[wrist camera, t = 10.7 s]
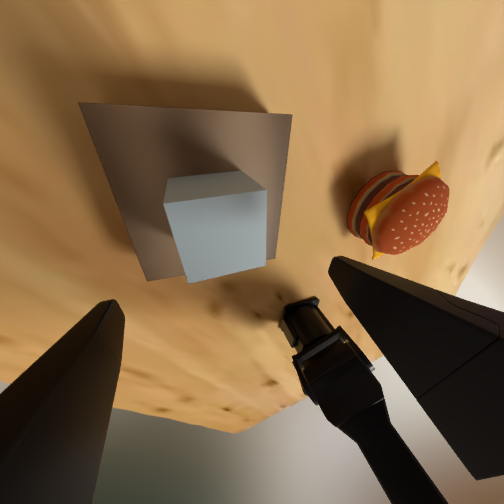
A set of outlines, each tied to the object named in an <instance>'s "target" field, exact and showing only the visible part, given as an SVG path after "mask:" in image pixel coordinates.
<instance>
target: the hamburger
mask: <svg viewBox="0 0 504 504" xmlns="http://www.w3.org/2000/svg"><path fill="white" fill-rule="evenodd" d="M448 199H449V188H448V186H447V185H446V184H445V183H444V182H443V181H442V180H441V179H440V169H439V165H438V162H437V161H436V162H435V163H433V164H432V165H431V166H430V167H429V168H428V169H426V170H425V171H424V172H423V173H422V174H421V175H406V174H404V173H403V172H401V171H390V172H384V173H382V174H380V175H378V176H376V177H374V178H373V179H371V180H370V181H369V182H368V183H367V184H366V185H365V186H364V187H363V188H362V189H361V190H360V191H359V193H358V195H357V196H356V198H355V199H354V201H353V202H352V205H351V208H350V211H349V214H348V228H349V229H350V231H351V232H352V234H353V235H354V236H356V237H358V238H361V239H364V241H365V242H366V243H367V244H368V245H371V246H373V257H372V260H373V259H376V258H377V257H379V256H381V255H383V254H385V253H386V254H392V255H396V254H400V253H403V252H405V251H407V250H409V249H411V248H413V247H415V246H417V245H419V244H421V243H422V242H423V241H424V240H425V239H426V238H427V237H428V236H429V235H430V234H431V233H432V232H434V231H435V229H436V228H437V226H438V225H439V223H440V222H441V220H442V218H443V217H444V215H445V214H446V212H447V206H448Z"/></svg>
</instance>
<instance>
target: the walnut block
mask: <svg viewBox="0 0 504 504" xmlns="http://www.w3.org/2000/svg"><path fill="white" fill-rule="evenodd" d="M78 104H79V106H80V109H81V111H82V114H83V117H84V119H85V122H86V124H87V127H88V130H89V132H90V135H91V137H92V140H93V143H94V145H95V148H96V150H97V153H98V156H99V158H100V161H101V163H102V166H103V169H104V171H105V174H106V176H107V179H108V182H109V184H110V187H111V189H112V192H113V194H114V197H115V200H116V202H117V205H118V207H119V210H120V213H121V215H122V218H123V220H124V223H125V226H126V228H127V231H128V233H129V236H130V239H131V241H132V244H133V246H134V249H135V252H136V254H137V257H138V259H139V262H140V265H141V267H142V270H143V272H144V275H145V278H146V280H147V281H153V280H158V279H164V278H170V277H175V276H181V275H186V274H185V271H184V268H183V265H182V262H181V259H180V255H179V252H178V249H177V246H176V243H175V240H174V237H173V233H172V230H171V227H170V224H169V221H168V218H167V215H166V211H165V208H164V205H163V202H164V196H165V191H166V186H167V181H168V178H174V177H184V176H193V175H203V174H212V173H222V172H232V171H243V172H244V173H245V174H247V175H248V176H249V177H251V178H252V179H253V180H255V181H256V182H257V183H259V184H260V185H261V186H263V187H264V188H265V189H267V223H266V260H270V259H275V256H276V248H277V239H278V231H279V223H280V214H281V206H282V197H283V189H284V181H285V172H286V164H287V156H288V147H289V139H290V131H291V122H292V115H291V114H273V113H256V112H238V111H221V110H203V109H185V108H168V107H150V106H132V105H115V104H97V103H80V102H78Z"/></svg>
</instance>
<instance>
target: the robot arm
mask: <svg viewBox="0 0 504 504" xmlns="http://www.w3.org/2000/svg"><path fill="white" fill-rule="evenodd" d="M328 274H329V276H330V278H331V279H332V281H333V283H334V284H335V286H336V288H337V289H338V291H339V293H340V294H341V296H342V298H343V299H344V301H345V302H346V304H347V305H348V307H349V308H350V309H351V311H352V312H353V313H354V315H355V316H356V318H357V319H358V320H359V322H360V323H361V324H362V326H363V327H364V329H365V330H366V331H367V333H368V334H369V335H370V337H371V338H372V339H373V341H374V342H375V344H376V345H377V346H378V348H379V349H380V350H381V352H382V353H383V355H384V356H385V357H386V359H387V360H388V361H389V363H390V364H391V365H392V367H393V368H394V370H395V371H396V372H397V374H398V375H399V376H400V378H401V379H402V381H403V382H404V383H405V384H406V386H407V387H408V389H409V390H410V391H411V393H412V394H413V396H414V397H415V398H416V399H417V401H418V403H419V404H420V405H421V407H422V408H423V410H424V411H425V412H426V414H427V415H428V416H429V418H430V419H431V420H432V422H433V423H434V425H435V426H436V427H437V429H438V430H439V431H440V433H441V434H442V436H443V437H444V438H445V440H446V441H447V442H448V444H449V445H450V446H451V448H452V449H453V451H454V452H455V453H456V455H457V456H458V457H459V459H460V460H461V461H462V463H463V464H464V466H465V467H466V468H467V470H468V471H469V472H470V473H471V475H472V476H473V477H474V478H475V479H476V480H481V479H486V478H491V477H496V476H501V475H504V312H501V311H498V310H495V309H492V308H489V307H486V306H483V305H479V304H476V303H473V302H470V301H467V300H464V299H461V298H459V297H455V296H453V295H450V294H447V293H444V292H442V291H439V290H434V289H433V288H430V287H428V286H425V285H422V284H419V283H416V282H414V281H411V280H408V279H405V278H402V277H400V276H397V275H394V274H391V273H389V272H386V271H383V270H380V269H377V268H375V267H372V266H369V265H366V264H364V263H361V262H358V261H355V260H352V259H350V258H347V257H344V256H337V257H334V258H333V259H332V261H331V264H330V267H329V270H328ZM319 301H320V300H319V299H318V298H314V299H310V300H306V301H303V302H299V303H295V304H291V305H287V306H286V307H285V308H284V313H283V318H282V322H281V331H283V332H284V334H285V336H286V338H287V340H288V342H289V344H290V346H291V347H292V348H294V347H295V349H296V351H297V353H298V354H296V355H293V356H292V359H293V362H292V363H293V365H294V367H295V369H296V371H297V373H298V376H299V380H300V383H301V387H302V390H303V392H304V394H305V395H307V396H309V397H310V399H311V400H312V401H313V403H314V404H315V405H318V404H319V406H320V408H321V410H322V412H323V413H324V415H325V417H326V418H327V420H328V421H329V422H331V423H332V424H333V425H334V426H335V427H338V428H339V429H340V430H341V431H342V432H344V433H345V434H346V435H348V436H349V437H350V438H351V439H352V440H354V441H355V442H356V443H357V444H358V446H359V448H360V449H361V451H362V453H363V454H364V456H365V458H366V460H367V462H368V463H369V465H370V467H371V469H372V470H373V472H374V474H375V476H376V477H377V479H378V481H379V483H380V484H381V486H382V488H383V490H384V491H385V493H386V495H387V497H388V498H389V500H390V502H391V504H448V502H447V501H446V500H445V498H444V497H443V495H442V494H441V493H440V491H439V490H438V488H437V487H436V486H435V484H434V483H433V481H432V480H431V479H430V477H429V476H428V474H427V473H426V472H425V470H424V469H423V467H422V466H421V465H420V463H419V462H418V460H417V459H416V458H415V456H414V455H413V453H412V452H411V451H410V449H409V448H408V446H407V445H406V444H405V442H404V441H403V439H402V438H401V437H400V435H399V434H398V433H397V431H396V430H395V428H394V427H393V426H392V424H391V422H390V418H389V414H388V411H387V407H386V403H385V399H384V395H383V391H382V387H381V384H380V383H379V382H378V380H377V379H376V378H375V376H374V375H373V374H372V371H373V370H375V369H374V367H373V365H372V364H371V362H370V361H369V360H368V358H367V357H366V356H365V354H364V353H363V352H362V351H361V349H360V348H359V347H358V346H357V345H356V344H355V342H354V341H353V340H352V339H351V338H350V337H349V336H348V334H347V333H346V332H345V331H344V330H343V329H342V327H341V326H338V327H337V328H336V329H334V327H333V326H332V325H331V323H330V322H329V321H328V319H327V318H326V317H325V316H324V314H323V313H322V312H321V310H320V309H319V308H318V304H319ZM124 327H125V316H124V313H123V311H122V309H121V308H120V306H119V304H118V302H117V301H116V300H115V299H111V300H106V301H102V302H100V303H98V304H97V305H96V306H95V307H94V308H93V309H92V310H91V311H90V312H88V313H87V314H86V315H85V316H84V317H83V318H82V319H81V320H80V321H79V322H78V323H77V324H75V325H74V326H73V327H72V328H71V329H70V330H69V331H68V332H67V333H66V334H65V335H64V336H62V337H61V338H60V339H59V340H58V341H57V342H56V343H55V344H54V345H53V346H52V347H51V348H49V349H48V350H47V351H46V352H45V353H44V354H43V355H42V356H41V357H40V358H39V359H37V360H36V361H35V362H34V363H33V364H32V365H31V366H30V367H29V368H28V369H27V370H26V371H24V372H23V373H22V374H21V375H20V376H19V377H18V378H17V379H16V380H15V381H14V382H13V383H11V384H10V385H9V386H8V387H7V388H6V389H5V390H4V391H3V392H2V393H1V394H0V504H92V501H93V496H94V491H95V486H96V482H97V477H98V473H99V468H100V463H101V458H102V453H103V448H104V444H105V439H106V434H107V429H108V425H109V420H110V415H111V410H112V406H113V401H114V396H115V392H116V387H117V382H118V377H119V372H120V367H121V360H122V350H123V338H124ZM343 342H345V343H343Z"/></svg>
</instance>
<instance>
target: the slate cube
mask: <svg viewBox="0 0 504 504" xmlns="http://www.w3.org/2000/svg"><path fill="white" fill-rule="evenodd" d="M163 205H164V208H165V211H166V215H167V218H168V221H169V224H170V227H171V230H172V233H173V237H174V240H175V243H176V246H177V249H178V252H179V255H180V259H181V262H182V265H183V268H184V271H185V274H186V277H187V281H188V284H190V283H194V282H199V281H203V280H207V279H211V278H215V277H220V276H224V275H228V274H232V273H237V272H241V271H245V270H249V269H253V268H258V267H262V266H266V223H267V189H265V188H264V187H263V186H261V185H260V184H259V183H257V182H256V181H255V180H253V179H252V178H251V177H249V176H248V175H247V174H245V173H244V172H243V171H232V172H222V173H212V174H203V175H193V176H184V177H174V178H168V181H167V186H166V191H165V196H164V202H163Z"/></svg>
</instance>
